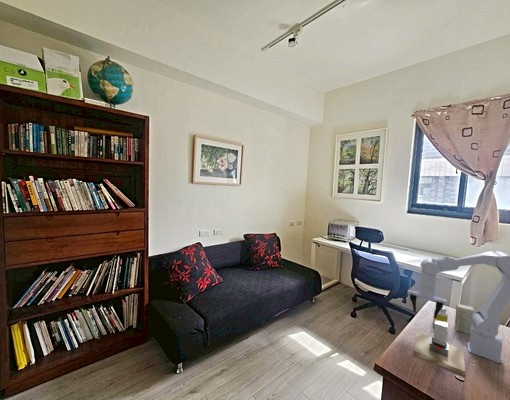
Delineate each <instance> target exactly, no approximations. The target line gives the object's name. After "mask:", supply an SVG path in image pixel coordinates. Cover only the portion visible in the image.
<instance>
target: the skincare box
mask: <svg viewBox="0 0 510 400" xmlns="http://www.w3.org/2000/svg"><path fill="white" fill-rule="evenodd" d="M455 307H456V308H455V318H454V328H455V331H457V332H460V333H463V334H464V333H465V334H468V335H471V327H472V325H473V322H472V321H471V314H472V313H474V312H476V311H475V309H474V307H473V306H469V305H465V304H460V303H456V305H455Z"/></svg>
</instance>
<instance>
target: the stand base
mask: <svg viewBox="0 0 510 400" xmlns="http://www.w3.org/2000/svg"><path fill="white" fill-rule="evenodd" d="M431 337H432V336H428V335H425V334H423V333H420V332H416V337H415V342H414V347H413V353H412V354H413V355H414V356H418V357H419V358H422V359H424V360H427V361H428V362H431V363H434V364H437V366H438V365H439V366H441V367H444V368H445V369H449V370H450V371H453V372H455V373H458V374H460V375H463V376H466V366H465V357H464V348H461V347H458V346H455V345H453V344H451V343H448V349H449V351H448V357H445V356H443V355H440V354H438V353H435V352H433V351H430V350H429V347H430V338H431Z"/></svg>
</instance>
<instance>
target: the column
mask: <svg viewBox="0 0 510 400" xmlns="http://www.w3.org/2000/svg"><path fill="white" fill-rule="evenodd" d="M447 335H448V322H447V323H446V322H443V321H439V320H436V319H435V325H434V329H433V336H432V337H433V342H436V343H438V344H441V345H444V346H446V342H447Z"/></svg>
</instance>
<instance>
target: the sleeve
mask: <svg viewBox="0 0 510 400" xmlns="http://www.w3.org/2000/svg"><path fill="white" fill-rule="evenodd" d="M430 337H431V338H430V347H429V350H430V351H433V352H435V353H438V354H440V355H443V356H445V357H448V351H449V349H448V344H449V342H447V341H446V346H444V345H441V344H438V343H436V342H433V336H430Z"/></svg>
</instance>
